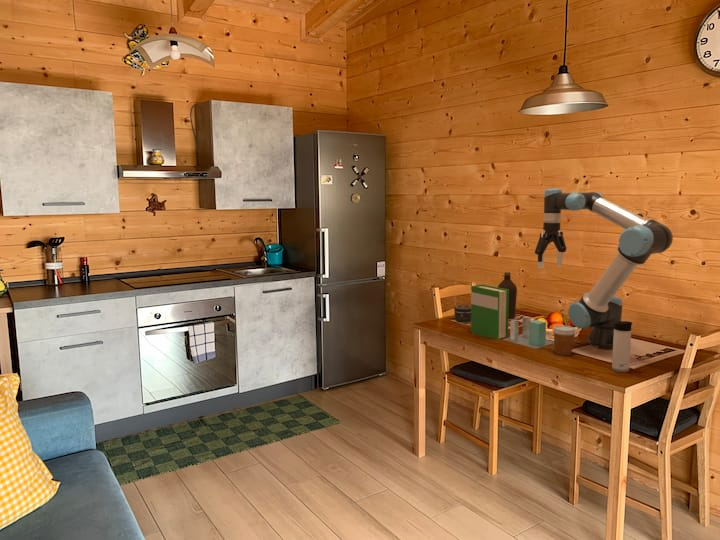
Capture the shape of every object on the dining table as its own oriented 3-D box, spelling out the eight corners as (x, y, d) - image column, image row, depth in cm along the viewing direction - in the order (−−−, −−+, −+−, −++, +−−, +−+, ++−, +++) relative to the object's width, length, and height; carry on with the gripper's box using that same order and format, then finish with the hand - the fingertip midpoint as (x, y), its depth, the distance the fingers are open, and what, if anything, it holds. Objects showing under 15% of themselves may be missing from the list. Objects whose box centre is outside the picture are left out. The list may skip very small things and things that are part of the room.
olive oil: (502, 319, 307) (503, 274, 303) (493, 315, 317) (494, 271, 313) (519, 318, 309) (521, 273, 305) (510, 313, 319) (511, 270, 316)
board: (556, 343, 260) (556, 342, 260) (536, 350, 251) (536, 348, 251) (522, 335, 275) (522, 333, 275) (502, 341, 267) (502, 339, 266)
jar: (453, 322, 304) (453, 308, 303) (455, 317, 313) (455, 304, 312) (471, 323, 301) (471, 309, 300) (473, 318, 310) (473, 305, 309)
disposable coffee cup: (564, 350, 250) (565, 324, 249) (579, 356, 242) (581, 329, 240) (547, 353, 247) (547, 326, 245) (562, 359, 238) (563, 331, 236)
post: (520, 340, 264) (521, 320, 263) (514, 342, 262) (515, 322, 260) (513, 338, 268) (513, 318, 266) (507, 340, 265) (507, 320, 264)
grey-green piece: (545, 344, 257) (546, 322, 255) (538, 346, 254) (539, 323, 252) (535, 342, 261) (536, 319, 259) (528, 344, 258) (529, 321, 256)
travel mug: (624, 373, 219) (627, 324, 216) (608, 369, 224) (611, 320, 221) (633, 370, 223) (635, 321, 220) (617, 366, 228) (619, 318, 225)
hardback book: (508, 338, 271) (509, 289, 267) (497, 341, 267) (498, 291, 263) (481, 330, 286) (482, 284, 282) (470, 333, 282) (471, 286, 278)
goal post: (532, 337, 269) (533, 317, 268) (527, 338, 267) (527, 319, 265) (525, 335, 273) (525, 315, 271) (519, 336, 270) (519, 317, 269)
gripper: (561, 220, 271) (560, 263, 274) (527, 223, 257) (526, 268, 261) (575, 220, 265) (573, 265, 268) (541, 224, 251) (539, 270, 255)
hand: (550, 267), depth 264 cm, fingers open, 13 cm apart
